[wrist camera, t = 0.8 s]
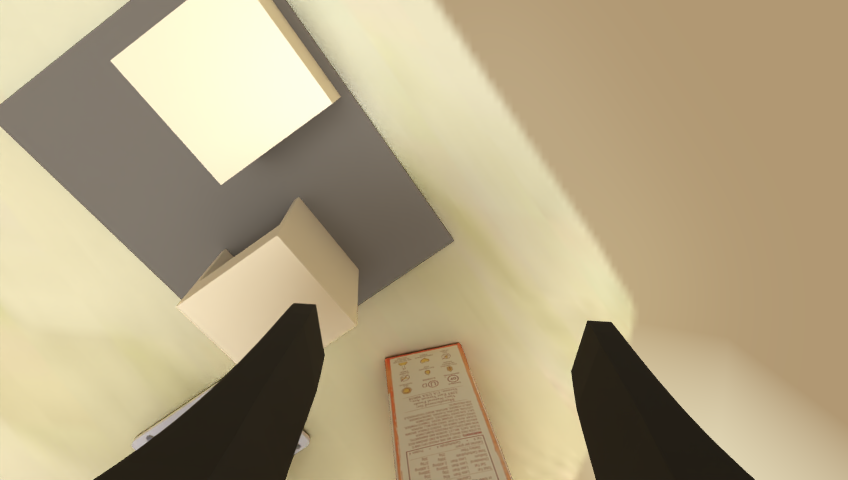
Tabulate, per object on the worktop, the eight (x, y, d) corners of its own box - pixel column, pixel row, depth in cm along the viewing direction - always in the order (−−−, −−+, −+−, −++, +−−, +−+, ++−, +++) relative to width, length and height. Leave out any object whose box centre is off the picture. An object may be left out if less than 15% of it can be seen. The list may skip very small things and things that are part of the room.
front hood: (257, 157, 25) (221, 184, 19) (181, 65, 23) (110, 60, 17) (341, 96, 25) (332, 103, 18) (270, -4, 23) (232, -36, 16)
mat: (259, 368, 31) (258, 372, 30) (-5, 113, 24) (-13, 114, 23) (452, 238, 29) (453, 240, 29) (232, -76, 22) (229, -80, 22)
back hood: (285, 319, 29) (262, 389, 23) (221, 251, 27) (175, 306, 21) (358, 269, 29) (357, 325, 22) (298, 196, 27) (276, 235, 20)
